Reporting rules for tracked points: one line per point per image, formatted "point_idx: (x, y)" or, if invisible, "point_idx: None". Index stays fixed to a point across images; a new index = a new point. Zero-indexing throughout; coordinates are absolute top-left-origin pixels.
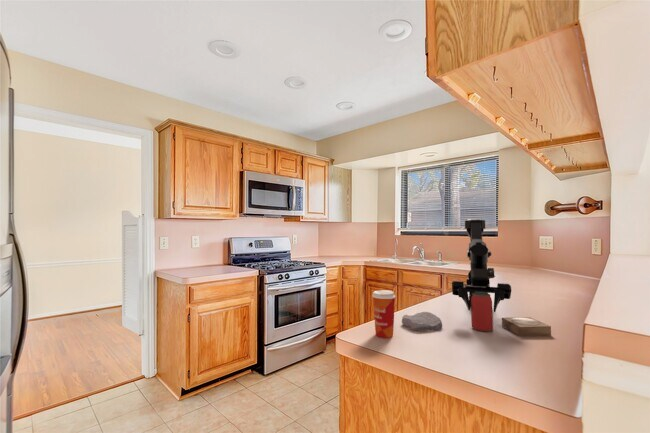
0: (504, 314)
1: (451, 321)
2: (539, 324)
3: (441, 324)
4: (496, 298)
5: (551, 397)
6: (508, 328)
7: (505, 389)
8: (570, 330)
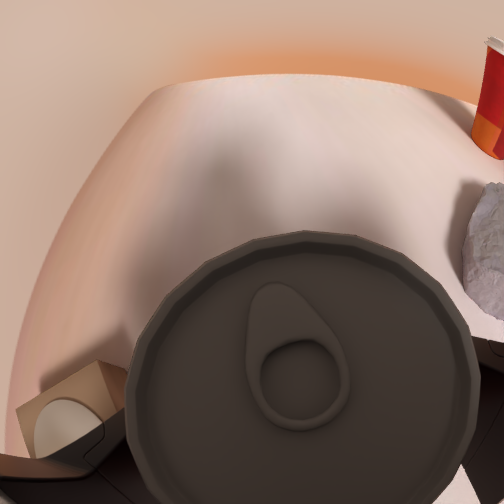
0: None
1: None
2: (36, 425)
3: (467, 264)
4: (91, 446)
5: (162, 97)
6: None
7: (213, 82)
8: None
